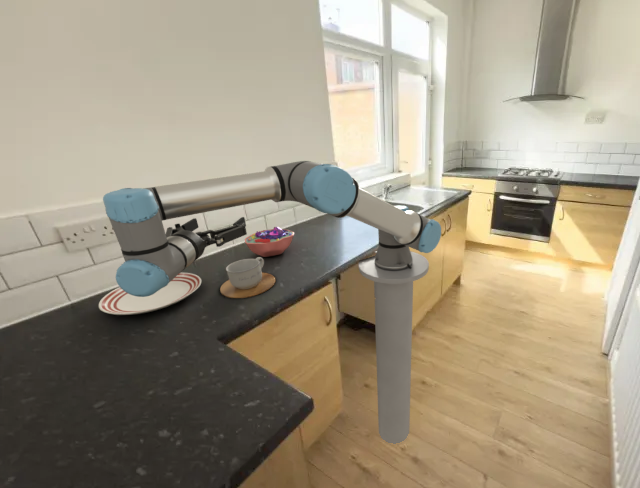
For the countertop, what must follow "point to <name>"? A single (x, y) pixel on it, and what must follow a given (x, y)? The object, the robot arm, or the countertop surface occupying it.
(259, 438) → the countertop surface
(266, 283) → the cork mat
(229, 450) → the countertop surface
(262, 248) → the cell model
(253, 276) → the teacup
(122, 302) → the dinner plate
